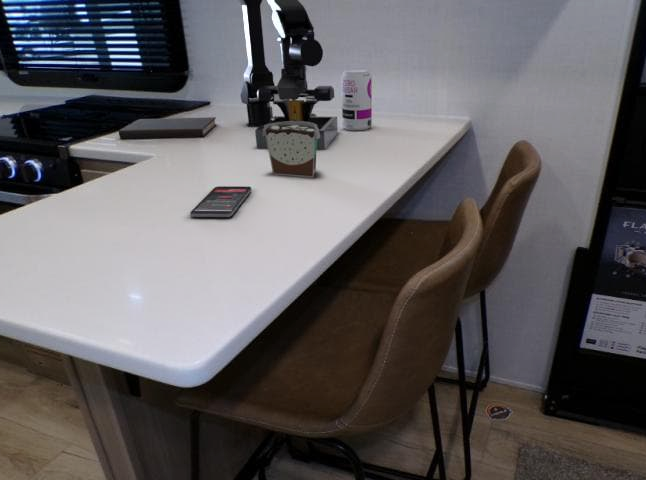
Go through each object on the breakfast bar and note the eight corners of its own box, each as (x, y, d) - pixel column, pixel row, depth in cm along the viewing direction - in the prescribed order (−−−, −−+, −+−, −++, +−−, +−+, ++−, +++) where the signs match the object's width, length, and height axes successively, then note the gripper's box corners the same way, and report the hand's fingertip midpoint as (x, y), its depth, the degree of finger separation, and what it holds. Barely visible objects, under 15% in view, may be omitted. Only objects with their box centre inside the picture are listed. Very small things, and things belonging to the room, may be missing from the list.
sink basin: (257, 148, 131) (254, 129, 129) (276, 132, 146) (274, 116, 144) (324, 149, 128) (324, 130, 126) (337, 133, 143) (337, 116, 141)
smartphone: (252, 186, 101) (230, 214, 88) (252, 190, 102) (231, 218, 89) (215, 186, 102) (188, 213, 89) (216, 189, 102) (189, 217, 89)
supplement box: (307, 139, 138) (305, 99, 133) (301, 142, 135) (298, 101, 130) (297, 138, 139) (294, 98, 134) (290, 141, 136) (287, 101, 131)
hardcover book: (140, 127, 157) (138, 119, 156) (216, 125, 157) (215, 117, 156) (120, 139, 143) (117, 130, 142) (203, 137, 143) (202, 128, 142)
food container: (330, 170, 113) (328, 122, 108) (320, 178, 108) (317, 128, 103) (279, 166, 117) (275, 119, 112) (266, 173, 112) (261, 125, 107)
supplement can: (372, 124, 152) (372, 68, 145) (370, 131, 145) (370, 72, 137) (344, 124, 153) (343, 69, 145) (341, 131, 146) (339, 72, 138)
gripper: (246, 67, 122) (253, 135, 130) (324, 66, 120) (327, 136, 127) (260, 62, 132) (267, 125, 140) (333, 61, 129) (335, 126, 137)
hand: (298, 128), depth 136 cm, fingers closed on supplement box, 4 cm apart
